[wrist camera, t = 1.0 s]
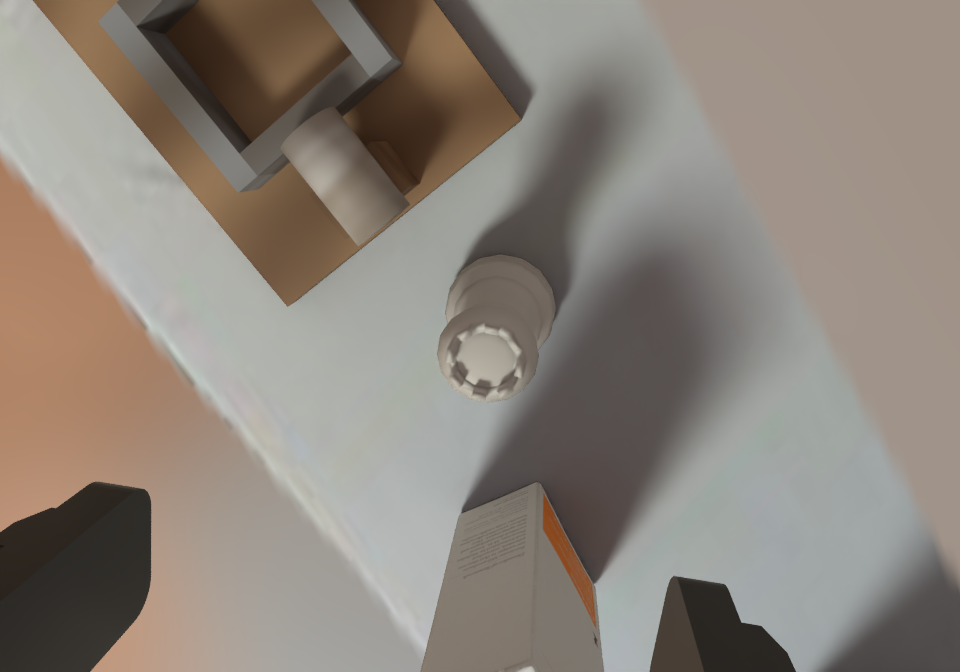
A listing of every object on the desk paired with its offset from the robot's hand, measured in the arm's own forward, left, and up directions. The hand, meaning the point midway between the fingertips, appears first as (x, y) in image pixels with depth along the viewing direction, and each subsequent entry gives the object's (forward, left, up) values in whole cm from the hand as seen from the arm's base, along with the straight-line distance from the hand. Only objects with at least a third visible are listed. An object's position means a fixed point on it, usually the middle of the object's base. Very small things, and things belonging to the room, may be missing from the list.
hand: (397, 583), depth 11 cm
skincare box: (-10, +6, -20) cm, 23 cm away
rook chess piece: (0, 0, -20) cm, 20 cm away
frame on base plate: (+13, +1, -20) cm, 24 cm away
